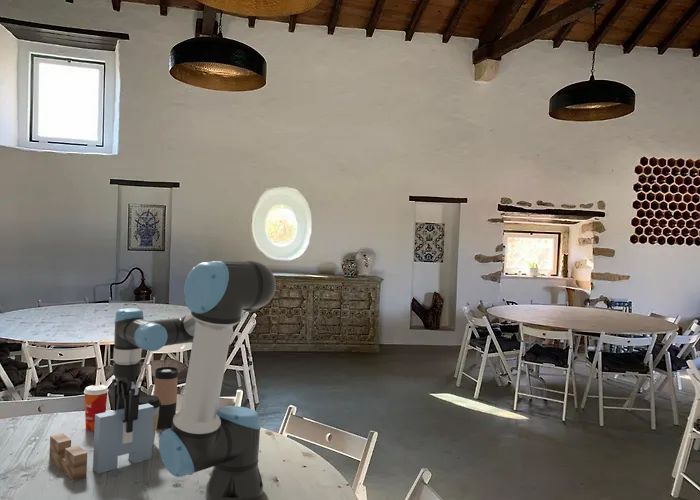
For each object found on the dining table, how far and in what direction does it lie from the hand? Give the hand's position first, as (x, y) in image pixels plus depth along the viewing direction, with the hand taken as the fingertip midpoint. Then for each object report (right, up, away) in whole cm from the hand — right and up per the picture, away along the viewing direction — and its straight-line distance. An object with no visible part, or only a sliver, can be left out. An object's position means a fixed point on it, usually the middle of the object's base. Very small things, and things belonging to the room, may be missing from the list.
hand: (123, 440), depth 162 cm
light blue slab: (0, -7, 0) cm, 7 cm away
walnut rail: (-14, -6, -5) cm, 16 cm away
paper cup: (-20, -5, +26) cm, 33 cm away
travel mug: (+1, -6, +31) cm, 32 cm away
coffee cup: (0, -7, +14) cm, 16 cm away
